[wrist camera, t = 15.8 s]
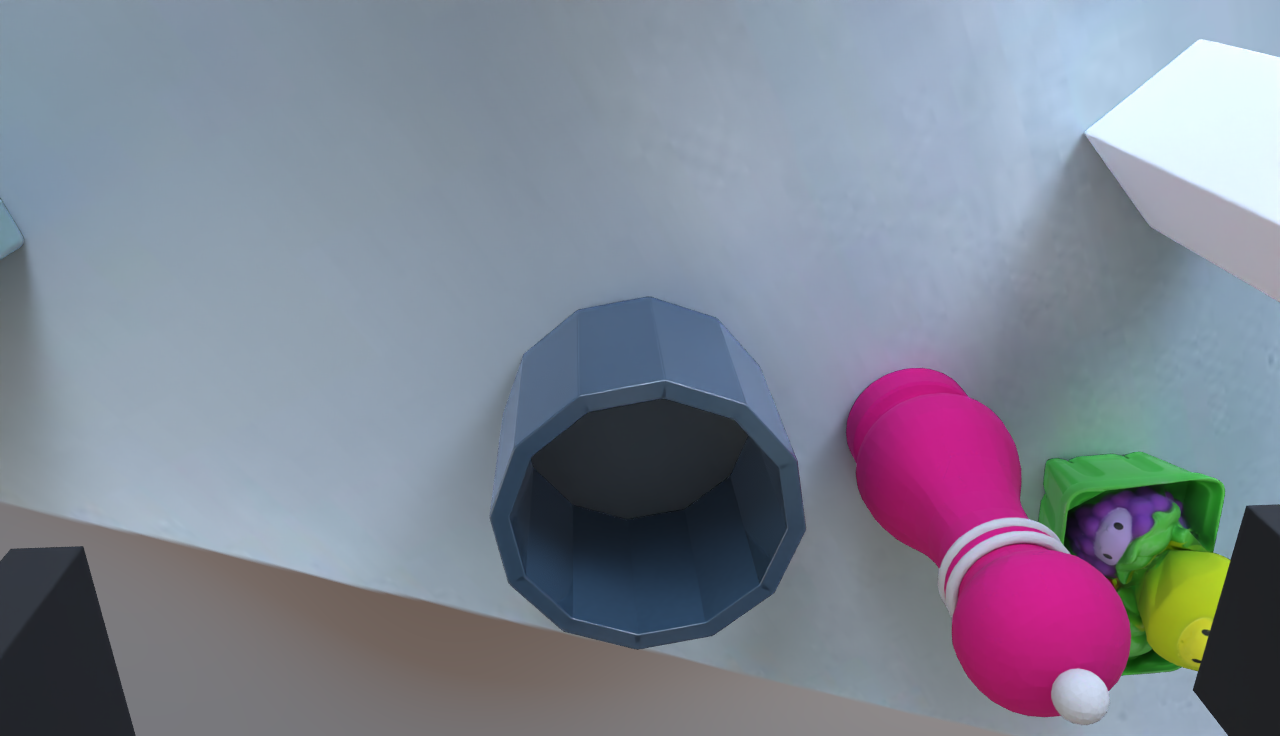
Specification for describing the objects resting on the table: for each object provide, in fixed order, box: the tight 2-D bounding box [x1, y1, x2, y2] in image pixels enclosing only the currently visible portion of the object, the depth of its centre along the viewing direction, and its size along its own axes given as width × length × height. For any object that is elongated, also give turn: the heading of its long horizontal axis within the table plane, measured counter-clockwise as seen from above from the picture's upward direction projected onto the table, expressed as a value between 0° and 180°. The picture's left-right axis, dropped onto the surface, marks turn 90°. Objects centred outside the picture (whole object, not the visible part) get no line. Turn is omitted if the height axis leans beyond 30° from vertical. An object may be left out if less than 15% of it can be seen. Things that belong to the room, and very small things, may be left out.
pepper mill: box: [846, 368, 1131, 725], centre depth 42 cm, size 7×7×20 cm
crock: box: [490, 297, 806, 650], centre depth 46 cm, size 13×13×9 cm
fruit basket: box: [1038, 452, 1231, 676], centre depth 49 cm, size 11×9×11 cm
